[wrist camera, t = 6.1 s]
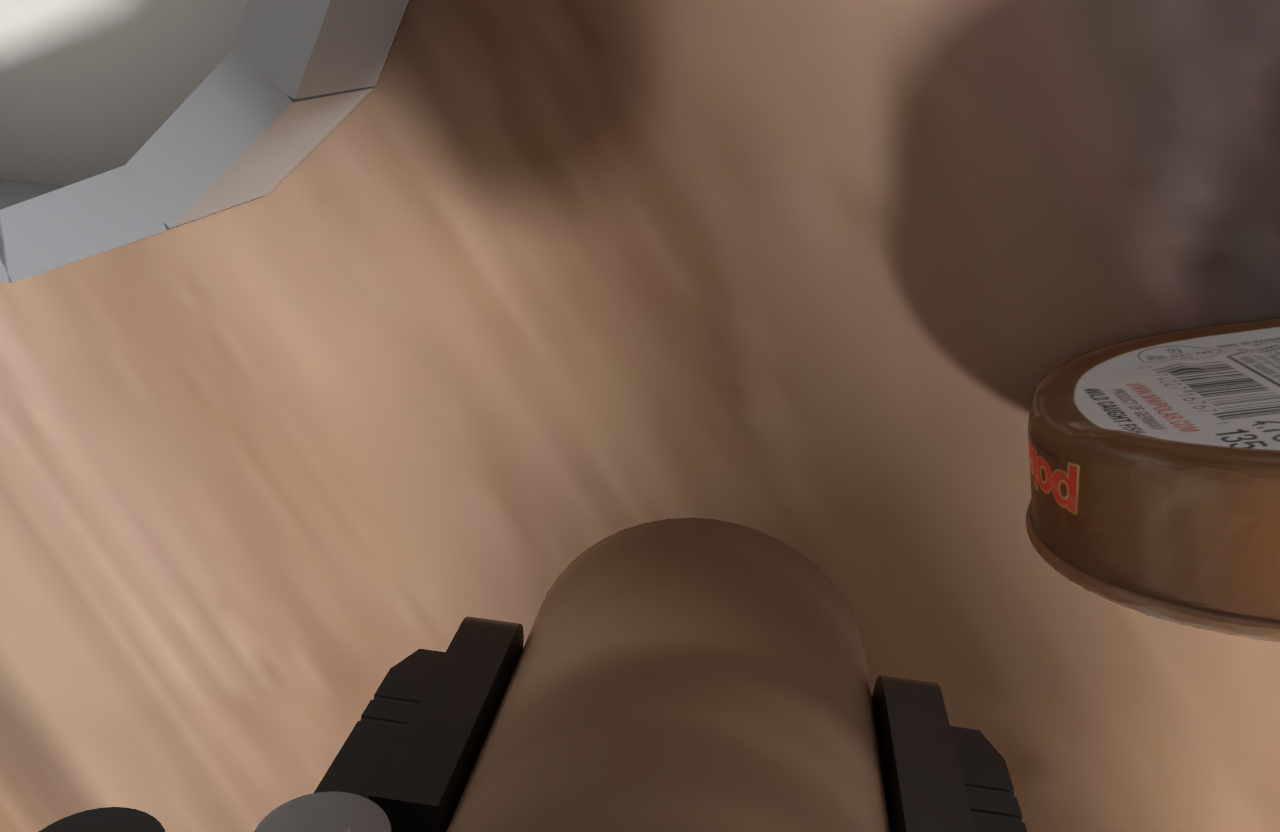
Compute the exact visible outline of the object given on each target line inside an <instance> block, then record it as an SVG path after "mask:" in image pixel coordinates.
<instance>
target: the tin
mask: <svg viewBox="0 0 1280 832" xmlns="http://www.w3.org/2000/svg"><path fill="white" fill-rule="evenodd" d="M1028 442H1029V458H1030V473H1031V494H1032V499H1031V501H1030V504H1029V506H1028V509H1027V513H1026V528H1027V532H1028V535H1029V538H1030V540H1031V543H1032V544H1033V546H1034V548H1035V549H1036V551H1037V552H1038V553H1039V554H1040V555H1041V556H1042V557H1043V559H1044V560H1045V561H1046V562H1047V563H1048V564H1049V565H1051V566H1052V567H1053V568H1054V569H1055V570H1056V571H1058V572H1059V573H1060V574H1062V575H1063V576H1065V577H1066V578H1068V579H1069V580H1070V581H1072V582H1074V583H1076V584H1078V585H1081V586H1082V587H1083V588H1085V589H1086V590H1088V591H1091V592H1093V593H1096V594H1098V595H1100V596H1102V597H1104V598H1106V599H1108V600H1110V601H1112V602H1115V603H1117V604H1119V605H1122V606H1125V607H1128V608H1131V609H1134V610H1136V611H1138V612H1141V613H1143V614H1146V615H1149V616H1153V617H1156V618H1160V619H1163V620H1167V621H1171V622H1175V623H1178V624H1182V625H1187V626H1192V627H1195V628H1199V629H1204V630H1209V631H1215V632H1219V633H1224V634H1229V635H1236V636H1241V637H1247V638H1252V639H1258V640H1266V641H1274V642H1280V319H1271V320H1263V321H1254V322H1246V323H1237V324H1228V325H1220V326H1211V327H1202V328H1196V329H1190V330H1183V331H1177V332H1171V333H1165V334H1160V335H1154V336H1148V337H1143V338H1139V339H1134V340H1130V341H1126V342H1122V343H1118V344H1114V345H1110V346H1107V347H1104V348H1100V349H1097V350H1094V351H1091V352H1089V353H1086V354H1084V355H1081V356H1079V357H1077V358H1074V359H1072V360H1070V361H1068V362H1066V363H1065V364H1063V365H1061V366H1060V367H1058V368H1057V369H1055V370H1054V371H1052V372H1051V373H1050V374H1048V375H1047V376H1046V377H1045V378H1044V379H1043V380H1042V381H1041V382H1040V384H1039V385H1038V387H1037V388H1036V390H1035V393H1034V395H1033V398H1032V402H1031V405H1030V413H1029V424H1028Z"/></svg>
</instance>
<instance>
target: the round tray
mask: <svg viewBox="0 0 1280 832" xmlns="http://www.w3.org/2000/svg"><path fill="white" fill-rule="evenodd" d="M408 2H409V0H0V282H5V283H11V282H12V283H13V282H16V281H19V280H22V279H25V278H28V277H31V276H34V275H37V274H39V273H42V272H45V271H48V270H51V269H54V268H57V267H60V266H63V265H66V264H69V263H72V262H75V261H78V260H81V259H84V258H87V257H90V256H93V255H95V254H98V253H101V252H104V251H107V250H110V249H113V248H116V247H119V246H122V245H125V244H128V243H131V242H134V241H137V240H140V239H143V238H146V237H149V236H152V235H154V234H157V233H160V232H163V231H166V230H169V229H172V228H175V227H178V226H180V225H183V224H186V223H189V222H192V221H195V220H198V219H200V218H203V217H206V216H209V215H212V214H215V213H217V212H220V211H223V210H226V209H229V208H232V207H234V206H237V205H240V204H243V203H246V202H249V201H252V200H254V199H257V198H260V197H263V196H265V195H267V194H268V193H269V192H270V191H271V190H272V189H273V188H274V187H275V186H276V185H277V184H278V183H279V182H280V181H281V180H282V179H283V178H284V177H285V176H286V175H287V174H288V173H289V172H290V171H291V170H292V169H293V168H294V167H295V166H296V165H297V164H299V163H300V162H301V161H302V160H303V159H304V158H305V157H306V156H307V155H308V154H309V153H310V152H311V151H312V150H313V149H314V148H315V147H316V146H317V145H318V144H319V143H320V142H321V141H322V140H323V139H324V138H325V137H326V136H327V135H328V134H329V133H330V132H331V131H332V130H333V129H334V128H335V127H336V126H337V125H338V124H339V123H340V122H341V121H342V120H343V119H344V118H345V117H346V116H347V115H348V114H349V113H350V112H351V111H352V110H353V109H354V108H355V107H356V106H357V105H358V104H359V103H360V102H361V101H362V100H363V99H364V98H365V97H366V96H367V95H368V94H369V93H370V92H371V91H372V90H373V89H374V87H373V86H376V84H377V82H378V79H379V77H380V74H381V72H382V69H383V66H384V64H385V61H386V59H387V56H388V54H389V51H390V48H391V46H392V43H393V41H394V38H395V36H396V33H397V30H398V28H399V25H400V23H401V20H402V18H403V15H404V12H405V10H406V7H407V5H408Z"/></svg>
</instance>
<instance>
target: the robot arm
mask: <svg viewBox="0 0 1280 832" xmlns="http://www.w3.org/2000/svg"><path fill="white" fill-rule="evenodd" d="M523 639H524V635H523V626H522V624H517V623H510V622H503V621H495V620H488V619H481V618H474V617H466V618H465V619H464V620H463V621H462V623H461V625H460V627H459V629H458V631H457V632H456V634H455V636H454V638H453V640H452V642H451V644H450V645H449V647H448V649H447V651H446V653H445V652H439V651H432V650H425V649H419V650H417V651H416V652H414V653H413V654H411V655H410V656H408V657H407V658H405V659H404V660H403V661H401V662H400V663H398V664H397V665H395V666H394V667H392V668H391V669H390V670H389V672H388V673H387V675H386V677H385V678H384V680H383V681H382V683H381V685H380V686H379V688H378V690H377V691H376V693H375V694H374V699H373V700H371V701H370V703H369V704H368V706H367V707H366V709H365V711H364V712H363V714H362V716H361V721H358V722H357V724H356V725H355V727H354V729H353V730H352V732H351V733H350V735H349V737H348V738H347V740H346V742H345V743H344V745H343V746H342V748H341V750H340V751H339V753H338V755H337V756H336V758H335V759H334V761H333V763H332V764H331V766H330V768H329V769H328V771H327V772H326V774H325V776H324V777H323V779H322V781H321V782H320V784H319V785H318V787H317V789H316V790H315V792H314V793H313V794H309V795H304V796H301V797H299V798H296V799H293V800H291V801H289V802H287V803H284V804H282V805H281V806H279V807H278V808H276V809H275V810H273V811H272V812H271V813H269V814H268V815H267V816H266V817H265V818H264V819H263V820H262V821H261V822H260V824H259V825H258V826H257V828H256V830H255V831H254V832H446V831H447V828H448V826H449V824H450V821H451V819H452V816H453V814H454V812H455V809H456V807H457V805H458V802H459V800H460V797H461V795H462V793H463V790H464V788H465V786H466V783H467V781H468V779H469V776H470V774H471V771H472V769H473V767H474V764H475V762H476V760H477V757H478V755H479V752H480V750H481V748H482V745H483V743H484V741H485V738H486V736H487V734H488V731H489V729H490V726H491V724H492V722H493V719H494V717H495V715H496V712H497V710H498V708H499V705H500V703H501V700H502V698H503V696H504V693H505V691H506V689H507V686H508V684H509V681H510V679H511V677H512V674H513V672H514V670H515V667H516V665H517V663H518V660H519V658H520V655H521V653H522V651H523ZM872 702H873V709H874V716H875V723H876V731H877V738H878V745H879V752H880V759H881V766H882V774H883V781H884V788H885V795H886V802H887V809H888V816H889V824H890V831H891V832H1027V830H1026V827H1025V824H1024V823H1022V814H1021V811H1020V808H1019V804H1018V801H1017V798H1016V797H1014V788H1013V785H1012V782H1011V779H1010V776H1009V772H1008V769H1007V766H1006V763H1005V760H1004V758H1003V757H1002V756H1001V755H1000V754H999V753H998V752H997V750H996V749H995V748H994V747H993V746H992V745H991V744H990V742H989V741H988V740H987V739H986V738H985V737H984V736H983V734H982V733H981V732H980V731H979V730H973V729H966V728H959V727H952V726H950V725H949V721H948V717H947V713H946V709H945V705H944V700H943V696H942V692H941V689H940V686H939V685H938V684H937V683H930V682H922V681H915V680H908V679H901V678H894V677H887V676H879V677H878V678H877V680H876V683H875V687H874V691H873V696H872ZM39 832H165V829H164V828H163V826H162V825H161V823H160V822H159V821H158V820H156V819H155V818H154V817H153V816H151V815H149V814H147V813H145V812H142V811H139V810H136V809H130V808H122V807H109V808H98V809H93V810H87V811H84V812H80V813H76V814H73V815H71V816H68V817H65V818H63V819H61V820H59V821H57V822H55V823H53V824H51V825H49V826H47V827H46V828H44V829H42V830H41V831H39Z"/></svg>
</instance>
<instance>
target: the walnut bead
mask: <svg viewBox="0 0 1280 832" xmlns="http://www.w3.org/2000/svg"><path fill="white" fill-rule="evenodd" d="M446 832H891V831H890V824H889V816H888V809H887V802H886V795H885V788H884V781H883V774H882V766H881V759H880V752H879V745H878V738H877V731H876V723H875V716H874V709H873V702H872V695H871V688H870V681H869V673H868V666H867V659H866V653H865V649H864V644H863V639H862V635H861V633H860V630H859V627H858V624H857V622H856V619H855V617H854V615H853V613H852V611H851V609H850V608H849V606H848V604H847V602H846V600H845V599H844V597H843V596H842V595H841V593H840V592H839V590H838V589H837V588H836V586H835V585H834V584H833V582H832V581H831V580H830V579H829V578H828V577H827V576H826V575H825V574H824V573H823V572H822V571H821V570H820V569H819V568H818V567H817V566H816V565H815V564H813V563H812V562H811V561H810V560H808V559H807V558H806V557H805V556H803V555H802V554H801V553H800V552H798V551H796V550H795V549H793V548H791V547H790V546H788V545H787V544H785V543H783V542H782V541H780V540H778V539H776V538H773V537H771V536H769V535H767V534H765V533H762V532H760V531H757V530H754V529H751V528H748V527H745V526H742V525H738V524H734V523H729V522H724V521H718V520H712V519H697V518H682V519H666V520H660V521H655V522H649V523H644V524H641V525H638V526H634V527H631V528H628V529H625V530H622V531H620V532H618V533H616V534H614V535H611V536H609V537H607V538H605V539H603V540H602V541H600V542H598V543H597V544H595V545H594V546H592V547H590V548H589V549H587V550H586V551H585V552H584V553H582V554H581V555H580V556H579V557H578V558H576V559H575V560H574V561H573V562H572V563H571V564H570V565H569V566H568V567H567V568H566V569H565V570H564V571H563V573H562V574H561V575H560V576H559V577H558V578H557V580H556V581H555V583H554V584H553V586H552V587H551V589H550V590H549V592H548V593H547V595H546V598H545V600H544V602H543V604H542V606H541V608H540V610H539V613H538V615H537V618H536V620H535V622H534V625H533V627H532V629H531V632H530V634H529V636H528V639H527V641H526V644H525V646H524V648H523V651H522V653H521V655H520V658H519V660H518V663H517V665H516V667H515V670H514V672H513V674H512V677H511V679H510V681H509V684H508V686H507V689H506V691H505V693H504V696H503V698H502V700H501V703H500V705H499V708H498V710H497V712H496V715H495V717H494V719H493V722H492V724H491V726H490V729H489V731H488V734H487V736H486V738H485V741H484V743H483V745H482V748H481V750H480V752H479V755H478V757H477V760H476V762H475V764H474V767H473V769H472V771H471V774H470V776H469V779H468V781H467V783H466V786H465V788H464V790H463V793H462V795H461V797H460V800H459V802H458V805H457V807H456V809H455V812H454V814H453V816H452V819H451V821H450V824H449V826H448V828H447V831H446Z"/></svg>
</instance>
